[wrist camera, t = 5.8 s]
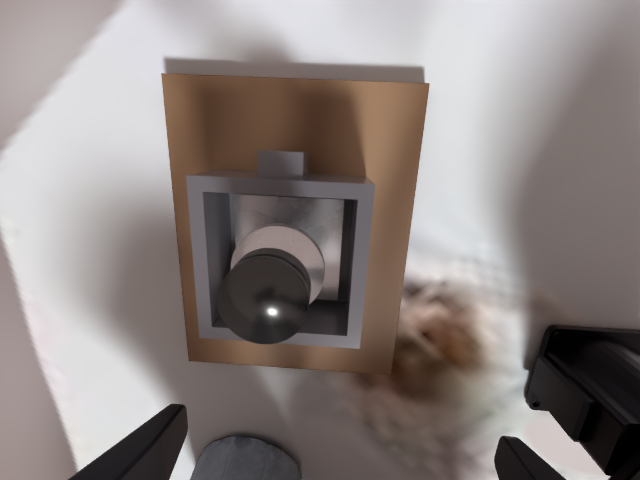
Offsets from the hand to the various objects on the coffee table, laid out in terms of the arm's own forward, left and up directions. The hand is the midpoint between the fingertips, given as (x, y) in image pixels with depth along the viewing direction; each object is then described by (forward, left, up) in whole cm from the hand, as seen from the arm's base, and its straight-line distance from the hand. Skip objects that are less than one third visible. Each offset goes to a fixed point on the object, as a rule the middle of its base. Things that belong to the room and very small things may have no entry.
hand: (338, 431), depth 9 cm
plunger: (+3, -2, -10) cm, 11 cm away
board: (+3, -2, -12) cm, 12 cm away
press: (+3, -2, -11) cm, 11 cm away
